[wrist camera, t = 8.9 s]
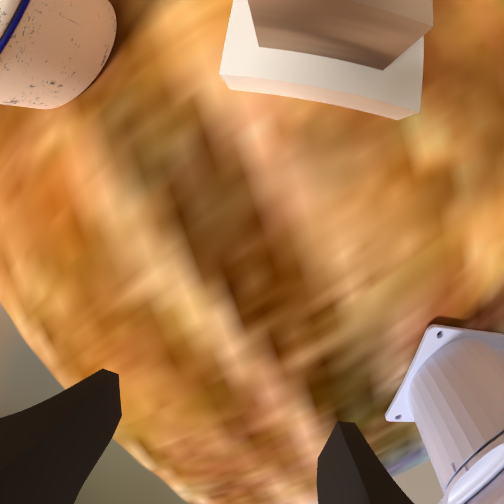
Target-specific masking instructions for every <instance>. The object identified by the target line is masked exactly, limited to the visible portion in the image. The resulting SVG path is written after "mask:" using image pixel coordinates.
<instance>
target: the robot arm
mask: <svg viewBox="0 0 504 504" xmlns="http://www.w3.org/2000/svg"><path fill="white" fill-rule="evenodd" d="M440 331H441V333H440V334H439V335H437V334H438V332H440ZM397 415H398V416H397ZM121 416H122V412H121V401H120V389H119V374H116V373H114V372H111V371H108V370H105V369H101V370H99V371H98V372H96V373H94V374H92V375H91V376H89V377H87V378H85V379H84V380H82V381H80V382H79V383H77V384H75V385H73V386H72V387H70V388H68V389H66V390H64V391H63V392H61V393H59V394H57V395H55V396H53V397H51V398H50V399H47V400H45V401H43V402H41V403H39V404H37V405H35V406H32V407H30V408H28V409H25V410H23V411H20V412H18V413H15V414H12V415H9V416H6V417H3V418H0V504H74V502H75V500H76V497H77V495H78V493H79V491H80V489H81V487H82V486H83V484H84V482H85V480H86V479H87V477H88V476H89V474H90V472H91V470H92V469H93V468H94V466H95V464H96V463H97V461H98V460H99V458H100V457H101V455H102V453H103V452H104V450H105V448H106V447H107V445H108V444H109V442H110V440H111V439H112V437H113V434H114V432H115V430H116V428H117V426H118V423H119V421H120V419H121ZM385 418H386V420H387V421H396V422H416V425H417V427H418V430H419V432H420V434H421V437H422V439H423V442H424V444H425V447H426V449H427V452H428V454H429V457H430V459H431V462H432V464H433V467H434V470H435V472H436V475H437V478H438V480H439V483H440V486H441V489H442V492H443V494H444V497H443V498H442V499H441V500H440V501H439V502H438V503H437V504H504V334H503V333H495V332H487V331H479V330H472V329H465V328H458V327H451V326H444V325H437V324H432V325H430V326H429V327H428V328H427V329H426V331H425V334H424V336H423V338H422V341H421V343H420V345H419V348H418V350H417V352H416V354H415V356H414V359H413V361H412V363H411V365H410V367H409V369H408V371H407V373H406V375H405V378H404V380H403V382H402V384H401V386H400V387H399V389H398V391H397V393H396V395H395V397H394V399H393V401H392V403H391V405H390V406H389V408H388V410H387V412H386V414H385ZM317 493H318V504H414V503H413V502H412V501H411V500H410V499H409V498H408V497H407V496H406V494H405V493H404V492H403V491H402V490H401V488H400V487H399V486H398V485H397V484H396V482H395V481H394V480H393V479H392V477H391V476H390V475H389V473H388V472H387V471H386V469H385V468H384V466H383V465H382V464H381V462H380V461H379V459H378V458H377V456H376V455H375V453H374V452H373V450H372V449H371V447H370V446H369V444H368V443H367V441H366V440H365V438H364V436H363V435H362V433H361V432H360V430H359V429H358V427H357V426H356V424H355V423H351V422H339V421H337V423H336V425H335V427H334V429H333V431H332V433H331V435H330V437H329V439H328V441H327V442H326V444H325V446H324V448H323V450H322V452H321V454H320V455H319V457H318V467H317Z"/></svg>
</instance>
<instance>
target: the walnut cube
mask: <svg viewBox="0 0 504 504" xmlns="http://www.w3.org/2000/svg"><path fill="white" fill-rule="evenodd" d="M248 4H249V8H250V12H251V16H252V20H253V24H254V28H255V33H256V37H257V41H258V45H259V47H263V48H271V49H279V50H287V51H293V52H300V53H306V54H312V55H317V56H323V57H328V58H333V59H338V60H342V61H347V62H351V63H355V64H359V65H363V66H367V67H371V68H375V69H379V70H382V71H383V70H384V69H385V68H386V67H388V66H389V65H390V64H391V63H392V62H393V61H394V60H396V59H397V58H398V57H399V56H400V55H401V54H402V53H404V52H405V51H406V50H407V49H408V48H409V47H411V46H412V45H413V44H414V43H415V42H416V41H418V40H419V39H420V38H421V37H422V36H423V35H425V34H426V33H427V32H428V31H429V30H431V29H432V28H433V27H434V23H433V0H248Z"/></svg>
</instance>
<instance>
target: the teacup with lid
mask: <svg viewBox="0 0 504 504" xmlns="http://www.w3.org/2000/svg"><path fill="white" fill-rule="evenodd" d="M116 28H117V22H116V15H115V11H114V8H113V7H112V5H111V3H110V2H109V1H108V0H0V104H5V105H13V106H22V107H30V108H37V109H52V108H56V107H59V106H62V105H64V104H66V103H68V102H70V101H71V100H73V99H74V98H76V97H77V96H78V95H80V94H81V93H82V92H83V91H84V90H85V89H86V88H87V87H88V86H89V85H90V84H91V83H92V82H93V80H94V79H95V78H96V77H97V75H98V74H99V72H100V71H101V69H102V68H103V66H104V65H105V63H106V61H107V59H108V57H109V55H110V52H111V50H112V47H113V44H114V40H115V36H116Z"/></svg>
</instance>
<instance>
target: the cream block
mask: <svg viewBox="0 0 504 504" xmlns="http://www.w3.org/2000/svg"><path fill="white" fill-rule="evenodd" d="M423 60H424V35H423V36H422V37H421V38H420V39H419V40H418V41H416V42H415V43H414V44H413V45H412V46H411V47H409V48H408V49H407V50H406V51H405V52H404V53H402V54H401V55H400V56H399V57H398V58H397V59H396V60H394V61H393V62H392V63H391V64H390V65H389V66H388V67H386V68H385V69H384V70H383V71H382V70H379V69H375V68H371V67H367V66H363V65H359V64H355V63H351V62H347V61H342V60H338V59H333V58H328V57H323V56H317V55H312V54H306V53H300V52H293V51H287V50H279V49H271V48H263V47H259V45H258V41H257V37H256V33H255V28H254V24H253V20H252V16H251V12H250V8H249V4H248V0H233V5H232V10H231V15H230V19H229V24H228V29H227V34H226V40H225V45H224V50H223V55H222V61H221V67H220V72H219V75H220V76H221V77H222V79H223V80H224V82H225V83H226V85H227V86H228V87H229V89H230V90H240V91H249V92H258V93H266V94H274V95H281V96H287V97H294V98H300V99H306V100H311V101H317V102H322V103H327V104H332V105H337V106H342V107H346V108H351V109H355V110H360V111H364V112H368V113H372V114H376V115H380V116H383V117H387V118H391V119H394V120H400V119H403V118H406V117H409V116H412V115H415V114H418V113H420V107H421V95H422V81H423Z"/></svg>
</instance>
